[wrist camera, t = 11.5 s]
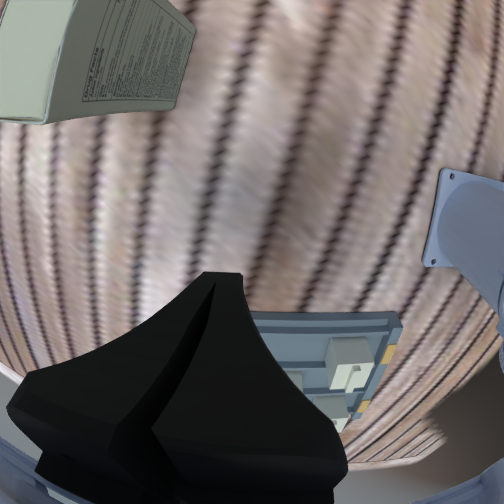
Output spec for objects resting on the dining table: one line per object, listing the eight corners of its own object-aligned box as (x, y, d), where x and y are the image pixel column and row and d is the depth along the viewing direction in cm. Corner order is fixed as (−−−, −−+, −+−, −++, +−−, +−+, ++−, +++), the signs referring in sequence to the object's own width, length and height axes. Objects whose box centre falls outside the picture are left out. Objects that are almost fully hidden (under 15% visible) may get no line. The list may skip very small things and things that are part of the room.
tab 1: (301, 366, 24) (303, 402, 21) (297, 386, 26) (299, 420, 22) (268, 366, 24) (267, 402, 21) (266, 386, 26) (265, 420, 22)
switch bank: (395, 311, 22) (404, 328, 20) (356, 404, 29) (360, 419, 27) (234, 310, 23) (230, 330, 21) (238, 405, 29) (237, 422, 27)
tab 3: (364, 332, 22) (376, 368, 19) (355, 358, 24) (365, 392, 20) (331, 333, 22) (339, 370, 19) (324, 359, 24) (330, 395, 20)
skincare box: (141, 24, 13) (20, -33, 2) (199, 28, 14) (108, -64, 3) (118, 107, 16) (-26, 123, 5) (173, 115, 17) (42, 126, 6)
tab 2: (343, 390, 26) (349, 422, 22) (337, 406, 27) (341, 436, 24) (315, 392, 26) (319, 424, 22) (310, 408, 27) (313, 438, 24)
